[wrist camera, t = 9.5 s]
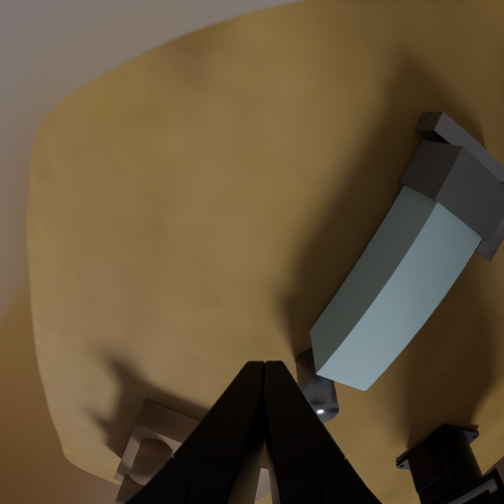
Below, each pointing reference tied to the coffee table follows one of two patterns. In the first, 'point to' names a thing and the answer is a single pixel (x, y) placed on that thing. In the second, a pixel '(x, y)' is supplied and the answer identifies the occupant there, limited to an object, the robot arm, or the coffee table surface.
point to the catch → (450, 132)
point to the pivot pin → (316, 387)
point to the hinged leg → (408, 264)
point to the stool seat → (161, 449)
